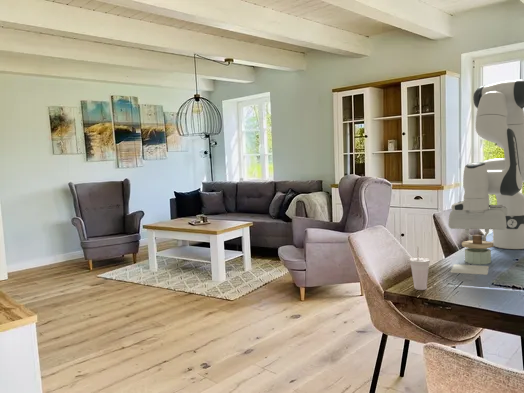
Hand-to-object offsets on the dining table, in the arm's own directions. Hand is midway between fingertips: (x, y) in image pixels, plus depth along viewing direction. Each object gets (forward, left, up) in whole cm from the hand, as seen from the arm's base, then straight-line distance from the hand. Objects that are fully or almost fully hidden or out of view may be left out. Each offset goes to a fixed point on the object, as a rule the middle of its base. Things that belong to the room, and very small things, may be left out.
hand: (477, 240), depth 173 cm
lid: (0, 0, -2) cm, 2 cm away
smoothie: (+39, -15, -9) cm, 43 cm away
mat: (+13, -2, -9) cm, 16 cm away
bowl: (0, 0, -9) cm, 9 cm away
